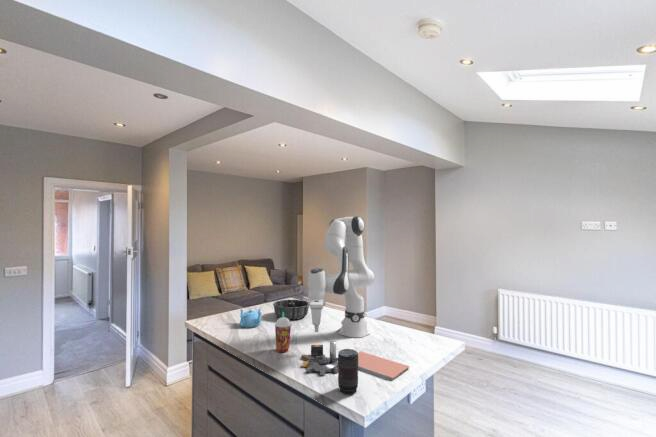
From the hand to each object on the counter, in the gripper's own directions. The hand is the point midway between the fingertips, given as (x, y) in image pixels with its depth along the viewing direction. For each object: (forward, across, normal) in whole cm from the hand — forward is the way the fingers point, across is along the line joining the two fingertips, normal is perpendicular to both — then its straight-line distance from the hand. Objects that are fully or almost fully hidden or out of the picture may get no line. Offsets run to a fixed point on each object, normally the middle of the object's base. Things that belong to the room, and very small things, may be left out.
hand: (316, 329), depth 164 cm
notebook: (+15, +11, +27) cm, 33 cm away
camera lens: (+15, +34, +13) cm, 40 cm away
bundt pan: (+11, -72, -20) cm, 75 cm away
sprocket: (+14, +12, +3) cm, 19 cm away
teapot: (+12, -50, -44) cm, 68 cm away
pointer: (+13, +4, -5) cm, 15 cm away
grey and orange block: (+13, -1, 0) cm, 13 cm away
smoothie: (+13, -6, -18) cm, 23 cm away
